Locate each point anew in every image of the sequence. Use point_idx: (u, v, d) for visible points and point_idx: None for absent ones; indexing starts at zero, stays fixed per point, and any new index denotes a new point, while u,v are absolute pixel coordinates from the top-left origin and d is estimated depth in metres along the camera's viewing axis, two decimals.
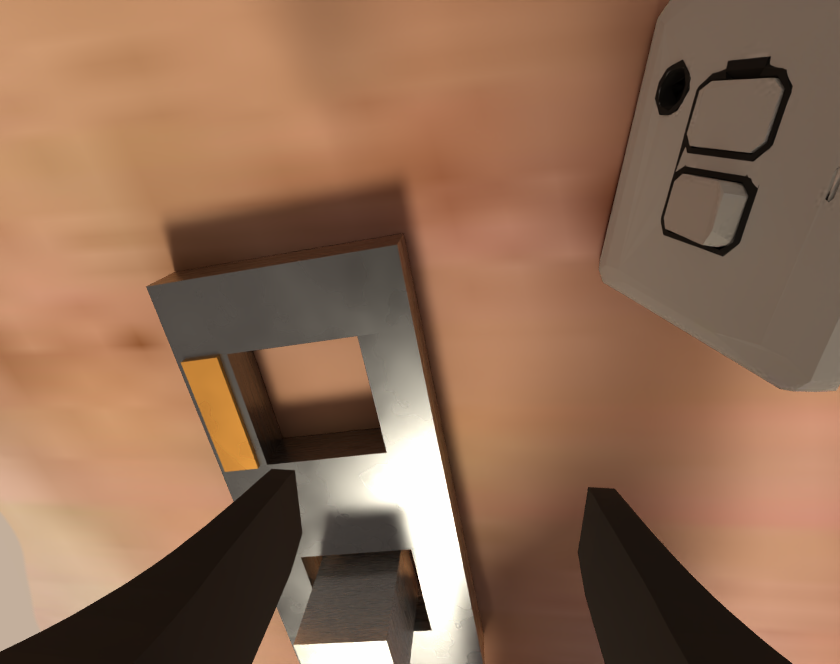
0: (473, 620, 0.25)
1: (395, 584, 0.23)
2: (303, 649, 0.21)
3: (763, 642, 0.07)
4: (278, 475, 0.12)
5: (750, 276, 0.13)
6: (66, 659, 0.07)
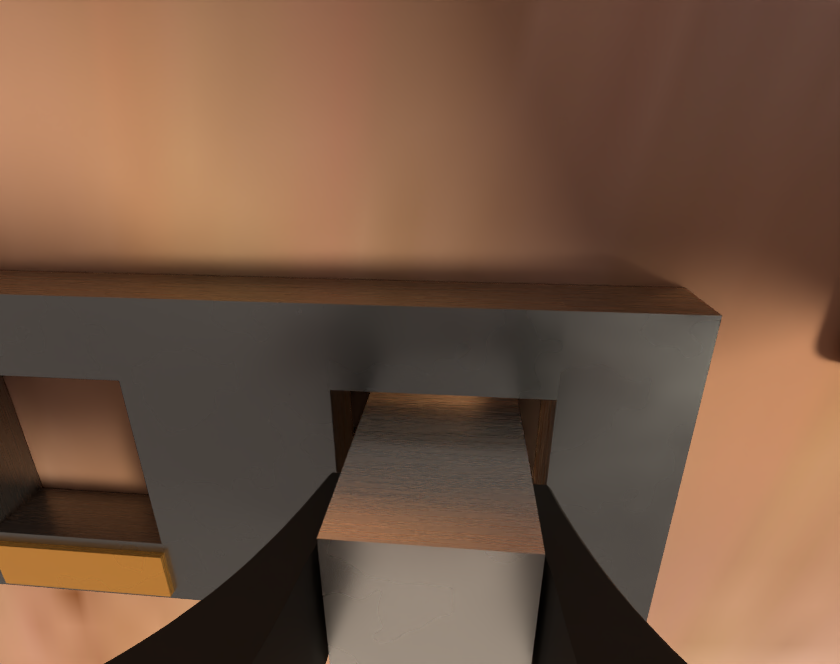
0: (541, 311, 0.11)
1: (352, 447, 0.11)
2: None
3: (654, 633, 0.07)
4: None
5: None
6: None
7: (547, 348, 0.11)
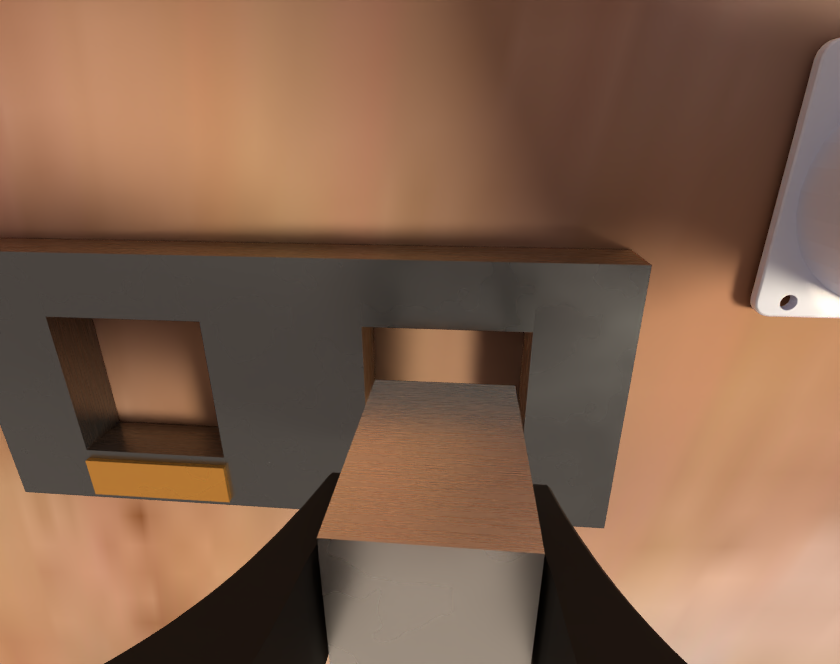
0: (520, 263, 0.15)
1: (352, 447, 0.11)
2: None
3: (654, 633, 0.07)
4: None
5: None
6: None
7: (525, 291, 0.15)
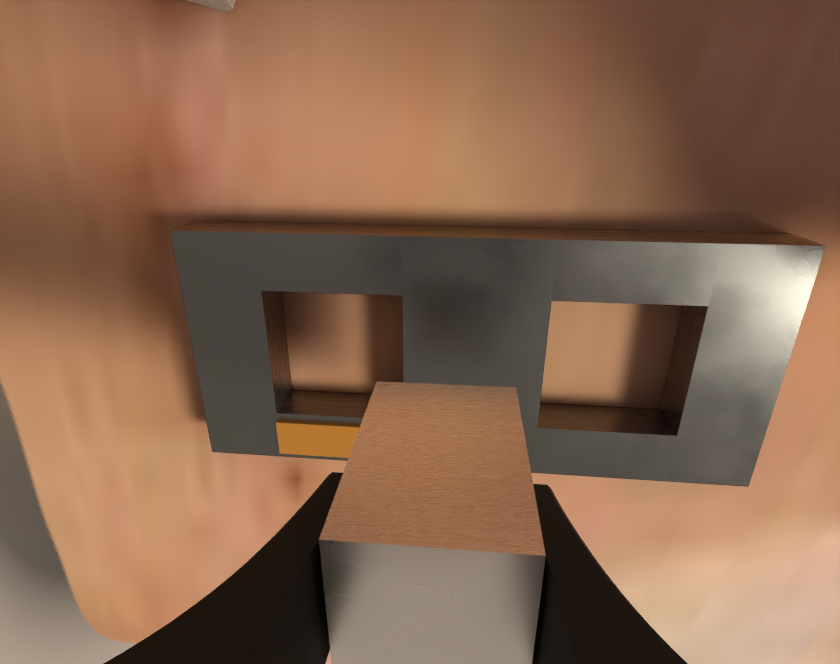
0: (705, 244, 0.17)
1: (354, 449, 0.11)
2: None
3: (654, 633, 0.07)
4: (340, 479, 0.12)
5: None
6: None
7: (706, 269, 0.17)
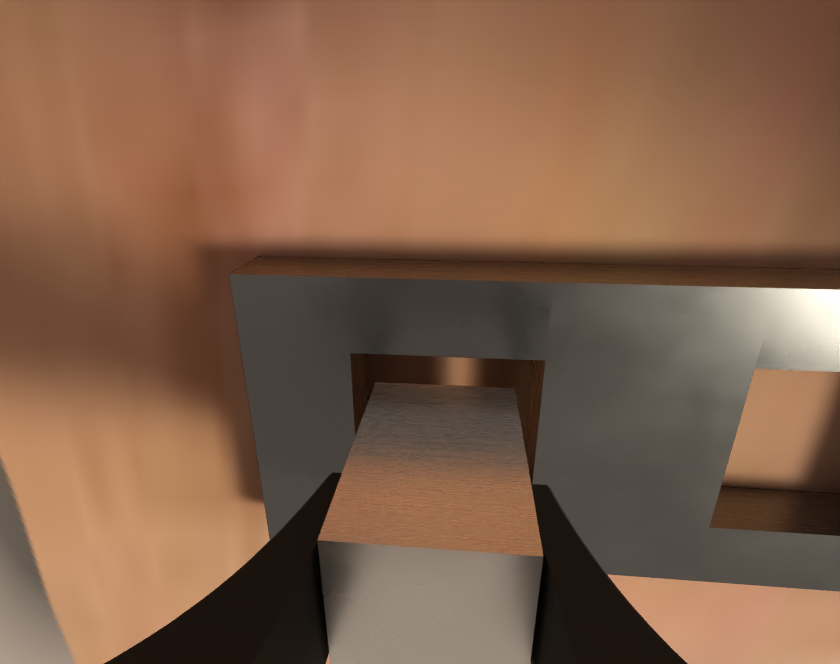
0: None
1: (353, 449, 0.12)
2: None
3: (654, 633, 0.07)
4: None
5: None
6: None
7: None
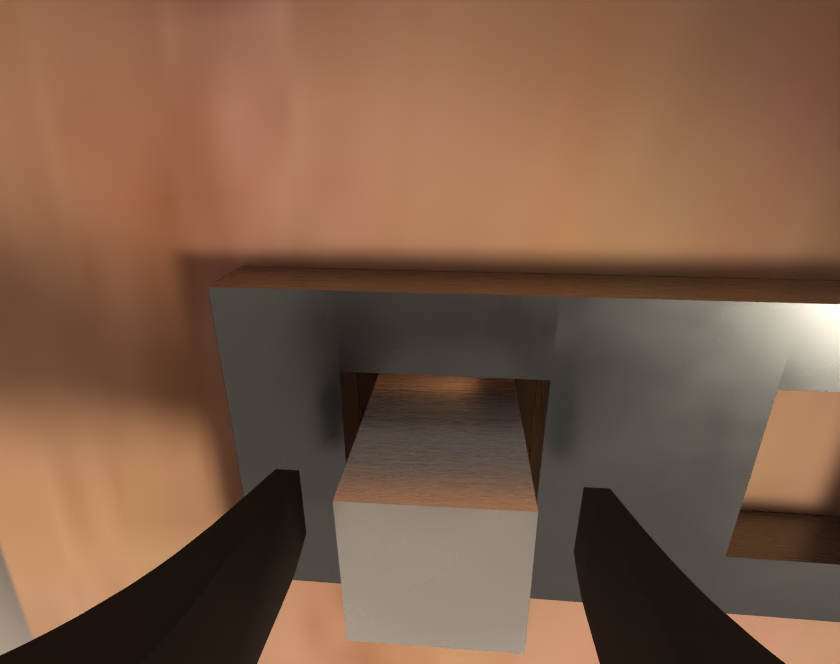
0: None
1: (362, 425, 0.12)
2: (358, 630, 0.11)
3: (755, 641, 0.07)
4: (282, 475, 0.12)
5: None
6: (73, 660, 0.07)
7: None
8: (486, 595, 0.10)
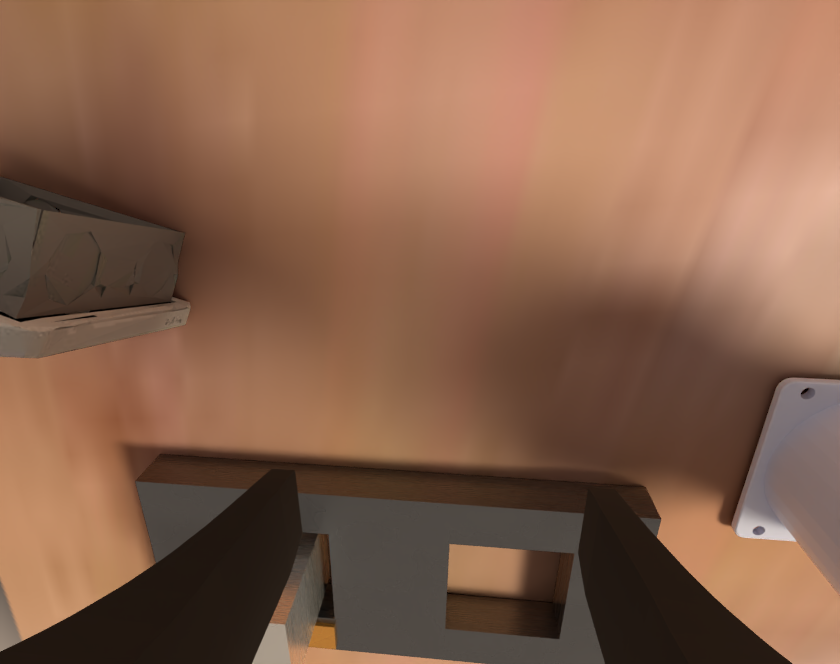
0: (568, 512, 0.21)
1: None
2: None
3: (763, 642, 0.07)
4: (277, 475, 0.12)
5: None
6: (66, 659, 0.07)
7: (570, 529, 0.21)
8: (269, 661, 0.20)
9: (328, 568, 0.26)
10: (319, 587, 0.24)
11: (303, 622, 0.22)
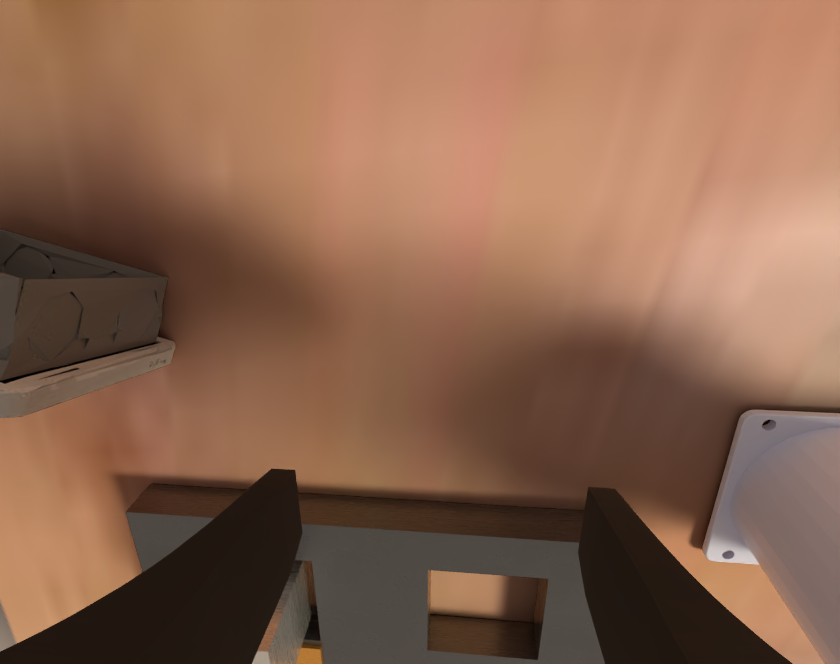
0: (540, 540, 0.22)
1: None
2: None
3: (763, 642, 0.07)
4: (277, 475, 0.12)
5: None
6: (66, 659, 0.07)
7: (543, 556, 0.22)
8: None
9: None
10: (305, 611, 0.25)
11: (288, 647, 0.23)
